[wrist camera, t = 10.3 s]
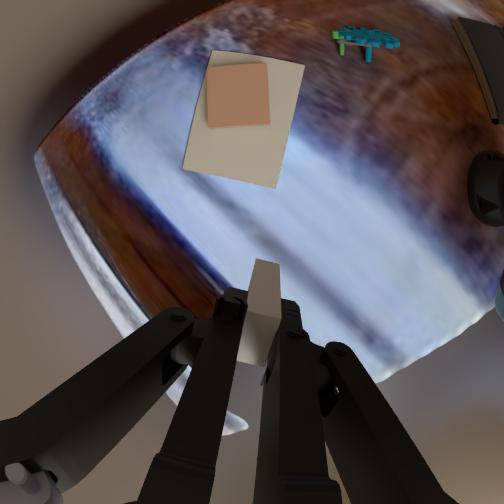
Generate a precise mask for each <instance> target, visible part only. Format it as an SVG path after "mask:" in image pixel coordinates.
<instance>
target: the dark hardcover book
mask: <svg viewBox="0 0 504 504" xmlns="http://www.w3.org/2000/svg"><path fill="white" fill-rule="evenodd" d="M451 23H452V25H453V26H454V28H455V30H456V32H457V34H458V36H459V38H460V40H461V42H462V44H463V46H464V48H465V50H466V52H467V54H468V56H469V58H470V60H471V62H472V65H473V67H474V70H475V72H476V75H477V77H478V80H479V83H480V85H481V88H482V91H483V94H484V97H485V100H486V103H487V106H488V109H489V113H490V116H491V119H497V118H499V121H495V122H492V123H493V124H495V125H496V124H504V28H500V27H497V26H496V25H495V26H494V25H491V24H487V23H483V22H479V21H475V20H471V19H467V18H462V17H458V19H456V20H454V21H453V22H451Z"/></svg>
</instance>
